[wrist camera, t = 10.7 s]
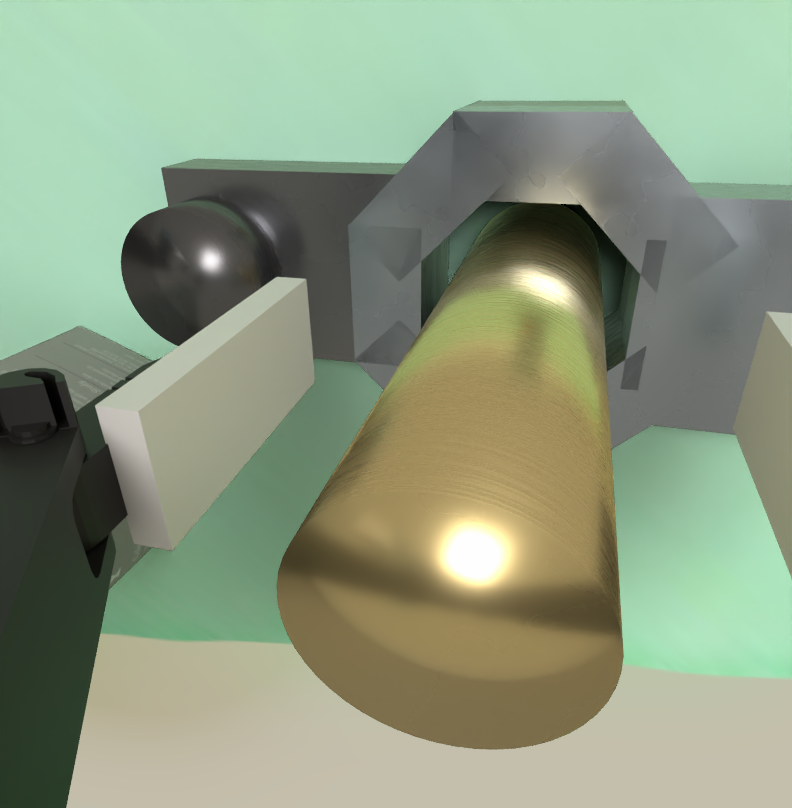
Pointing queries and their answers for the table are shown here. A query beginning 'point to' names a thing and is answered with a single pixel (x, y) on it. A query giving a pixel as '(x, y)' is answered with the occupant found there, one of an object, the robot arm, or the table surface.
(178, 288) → the grey socket base
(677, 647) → the table surface
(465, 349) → the brass pin
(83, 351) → the skincare box
